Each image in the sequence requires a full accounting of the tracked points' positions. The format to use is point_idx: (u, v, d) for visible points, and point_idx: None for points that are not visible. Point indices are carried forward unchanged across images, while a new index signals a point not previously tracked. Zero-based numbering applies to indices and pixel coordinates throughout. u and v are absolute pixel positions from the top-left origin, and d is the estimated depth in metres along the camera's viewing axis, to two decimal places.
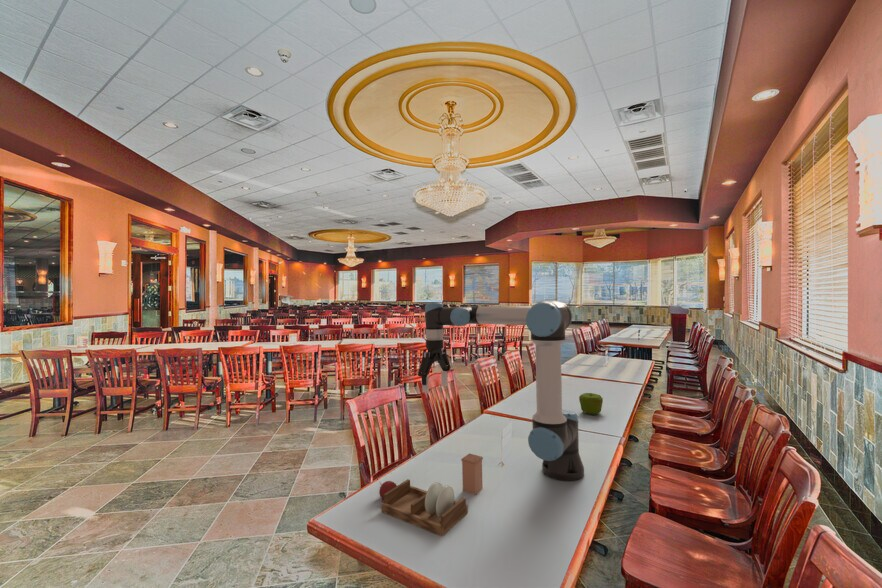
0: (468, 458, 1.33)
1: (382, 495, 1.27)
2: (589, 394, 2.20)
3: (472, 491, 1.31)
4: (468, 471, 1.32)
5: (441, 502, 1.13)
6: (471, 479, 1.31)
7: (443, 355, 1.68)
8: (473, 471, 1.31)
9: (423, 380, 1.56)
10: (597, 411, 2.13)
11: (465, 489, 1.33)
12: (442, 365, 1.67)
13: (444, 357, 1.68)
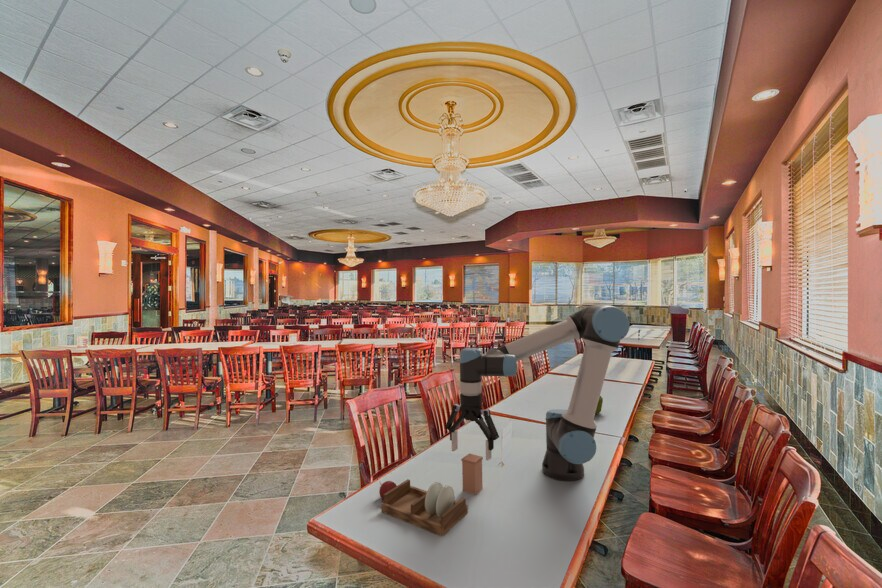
0: (468, 458, 1.33)
1: (382, 495, 1.27)
2: None
3: (472, 491, 1.31)
4: (468, 471, 1.32)
5: (441, 502, 1.13)
6: (471, 479, 1.31)
7: None
8: (473, 471, 1.31)
9: None
10: (597, 411, 2.13)
11: (465, 489, 1.33)
12: None
13: None
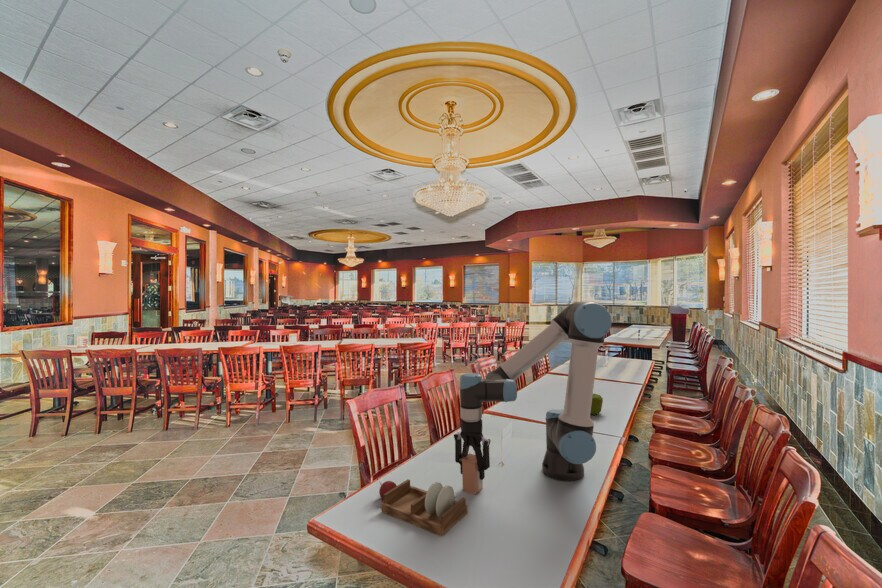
0: (468, 458, 1.33)
1: (382, 495, 1.27)
2: None
3: (472, 491, 1.31)
4: (468, 471, 1.32)
5: (441, 502, 1.13)
6: (471, 479, 1.31)
7: None
8: (473, 471, 1.31)
9: None
10: (597, 411, 2.13)
11: (465, 489, 1.33)
12: None
13: None
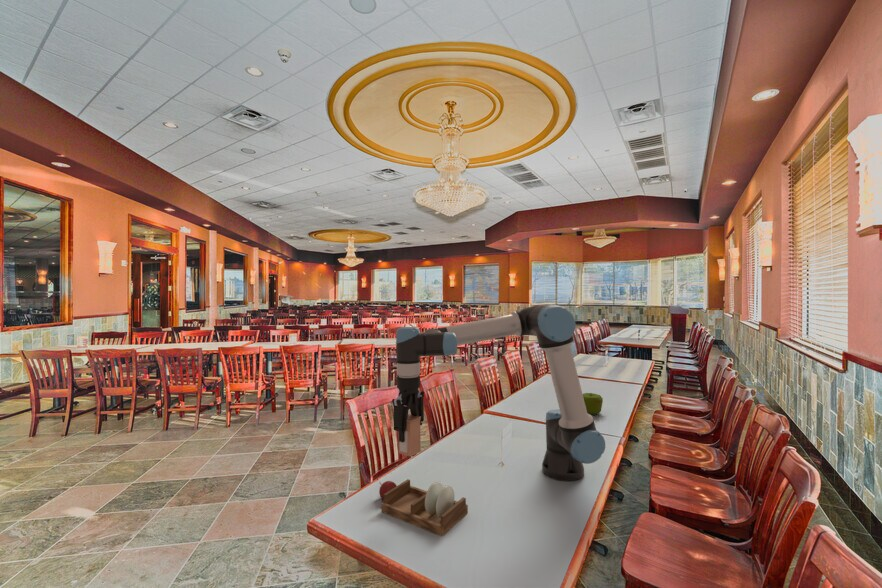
0: (411, 418, 1.22)
1: (382, 495, 1.27)
2: (589, 394, 2.20)
3: (418, 449, 1.23)
4: (415, 431, 1.22)
5: (441, 502, 1.13)
6: (418, 437, 1.23)
7: (419, 399, 1.27)
8: (419, 427, 1.24)
9: (400, 436, 1.20)
10: (597, 411, 2.13)
11: (413, 453, 1.21)
12: (414, 414, 1.25)
13: (419, 402, 1.27)
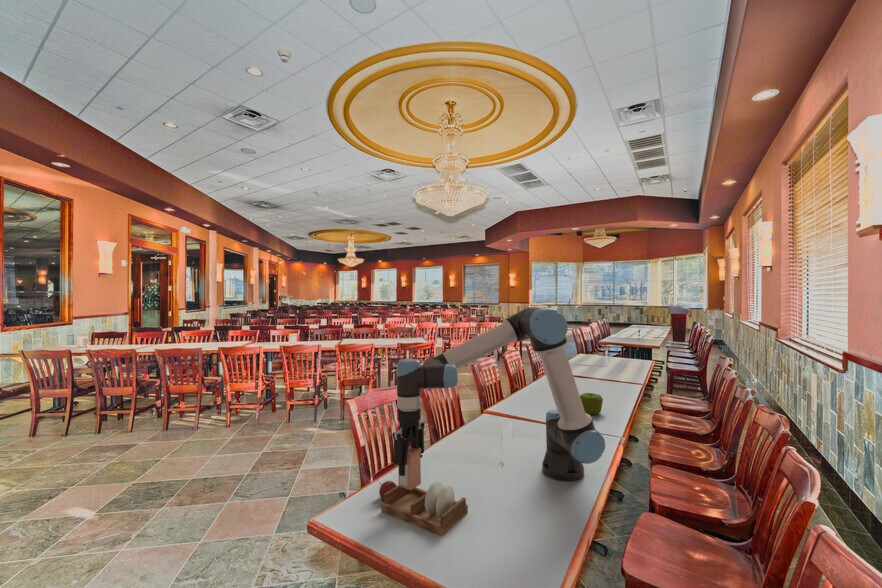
0: (411, 451, 1.22)
1: (382, 495, 1.27)
2: (589, 394, 2.20)
3: (418, 482, 1.23)
4: (415, 464, 1.22)
5: (441, 502, 1.13)
6: (418, 469, 1.23)
7: (419, 431, 1.27)
8: (419, 460, 1.24)
9: (401, 469, 1.20)
10: (597, 411, 2.13)
11: (413, 486, 1.21)
12: (414, 446, 1.25)
13: (419, 434, 1.27)
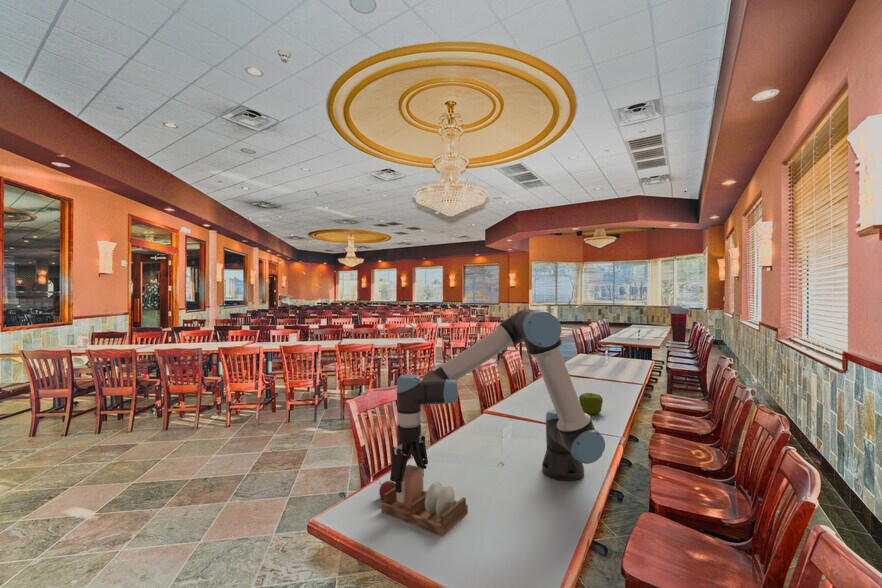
0: (412, 471, 1.22)
1: (382, 495, 1.27)
2: (589, 394, 2.20)
3: None
4: (416, 483, 1.22)
5: (441, 502, 1.13)
6: (418, 489, 1.23)
7: (420, 444, 1.28)
8: (420, 479, 1.24)
9: (397, 486, 1.18)
10: (597, 411, 2.13)
11: None
12: (417, 459, 1.26)
13: (421, 447, 1.28)
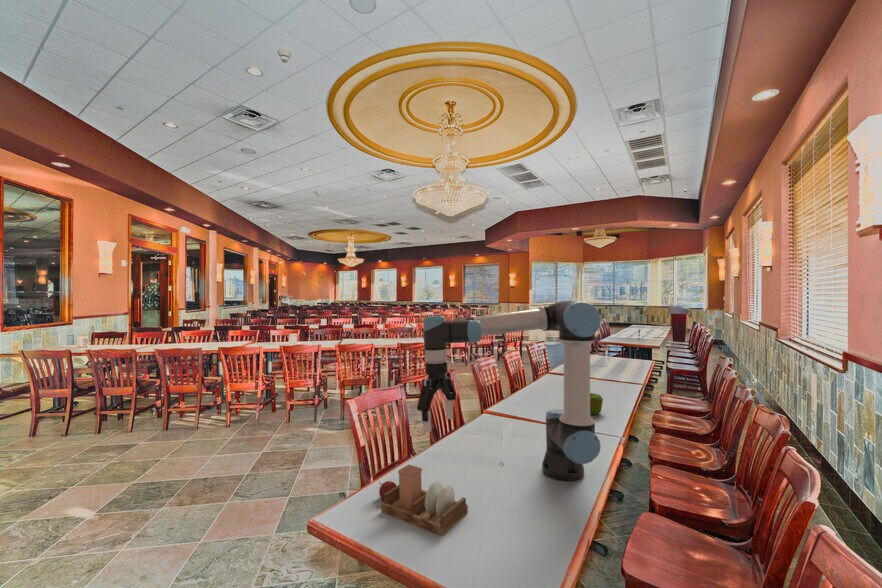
0: (412, 471, 1.22)
1: (382, 495, 1.27)
2: None
3: None
4: (416, 483, 1.22)
5: (441, 502, 1.13)
6: (418, 489, 1.23)
7: (447, 380, 1.35)
8: (420, 479, 1.24)
9: (424, 415, 1.23)
10: (597, 411, 2.13)
11: None
12: (446, 393, 1.35)
13: (448, 383, 1.36)
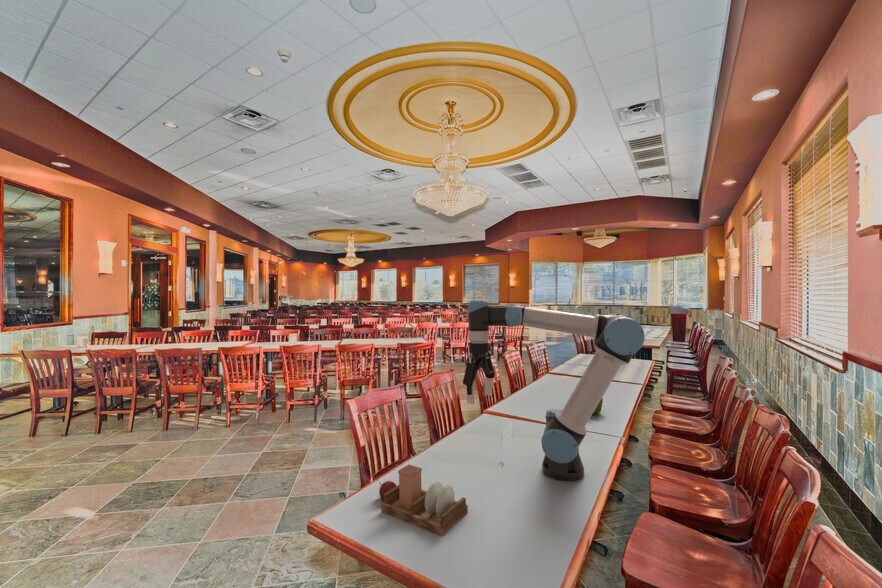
0: (412, 471, 1.22)
1: (382, 495, 1.27)
2: None
3: None
4: (416, 483, 1.22)
5: (441, 502, 1.13)
6: (418, 489, 1.23)
7: (487, 360, 1.48)
8: (420, 479, 1.24)
9: (468, 389, 1.37)
10: (597, 411, 2.13)
11: None
12: (486, 371, 1.48)
13: (488, 362, 1.49)
